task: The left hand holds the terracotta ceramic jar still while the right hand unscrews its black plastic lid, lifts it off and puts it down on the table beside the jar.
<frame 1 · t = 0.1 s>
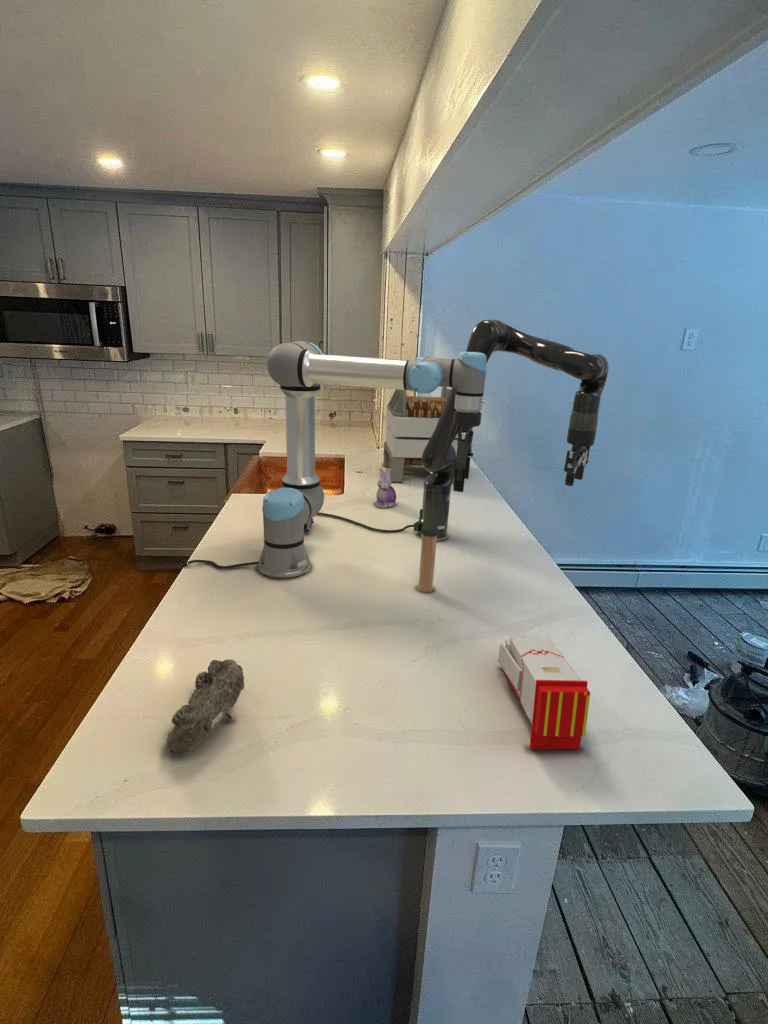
left hand: (461, 484, 163), 28 cm above the counter, tool pointing down, fingers open, 13 cm apart
right hand: (573, 482, 165), 29 cm above the counter, tool pointing down, fingers open, 8 cm apart
lid: (429, 529, 155), point 18 cm above the counter, screwed on, not yet turned
figurine character: (304, 527, 201), on the counter
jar: (425, 589, 161), on the counter
fossil: (212, 717, 108), on the counter
figurine: (385, 504, 229), on the counter
toy: (533, 701, 117), on the counter
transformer: (419, 473, 275), on the counter
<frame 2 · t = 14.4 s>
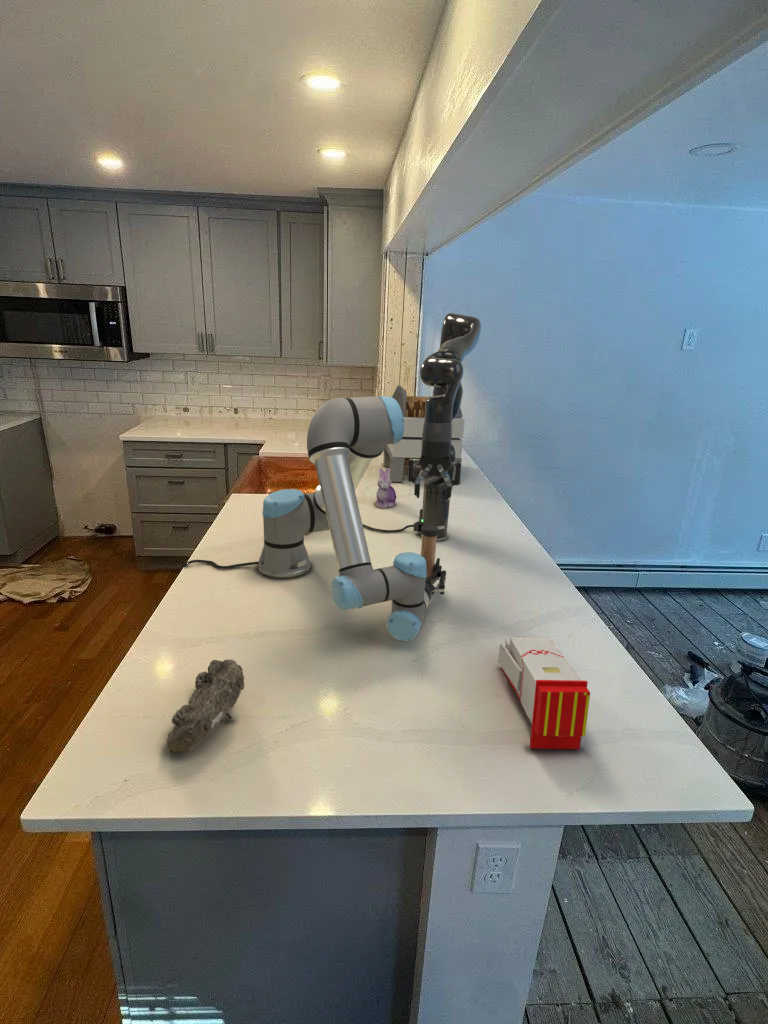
left hand: (430, 561, 164), 6 cm above the counter, tool horizontal, fingers closed on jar, 4 cm apart
right hand: (432, 498, 152), 27 cm above the counter, tool pointing down, fingers open, 7 cm apart
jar: (425, 589, 161), on the counter, touching left hand
everything else where it was.
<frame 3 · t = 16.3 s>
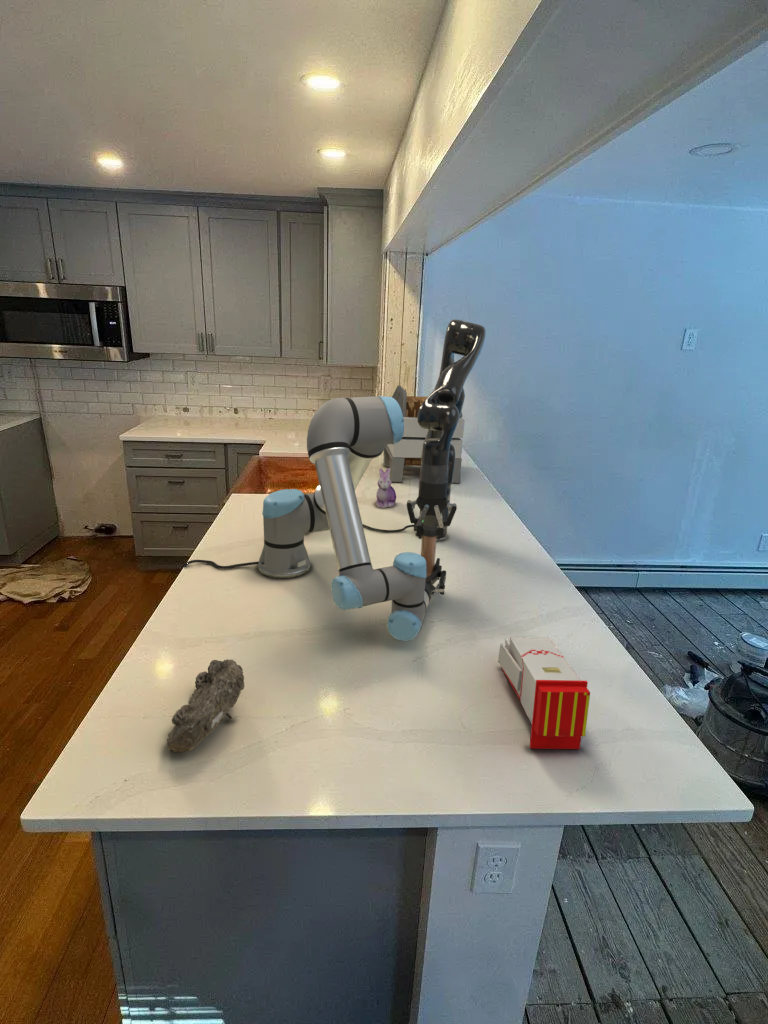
left hand: (430, 561, 164), 6 cm above the counter, tool horizontal, fingers closed on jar, 4 cm apart
right hand: (429, 537, 156), 16 cm above the counter, tool pointing down, fingers closed on lid, 4 cm apart
lid: (429, 529, 155), point 18 cm above the counter, screwed on, not yet turned, touching right hand
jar: (425, 589, 161), on the counter, touching left hand
everything else where it was.
when the right hand's fingers open (16 cm above the counter, at t = 18.1 s): lid stays where it is, point 19 cm above the counter.
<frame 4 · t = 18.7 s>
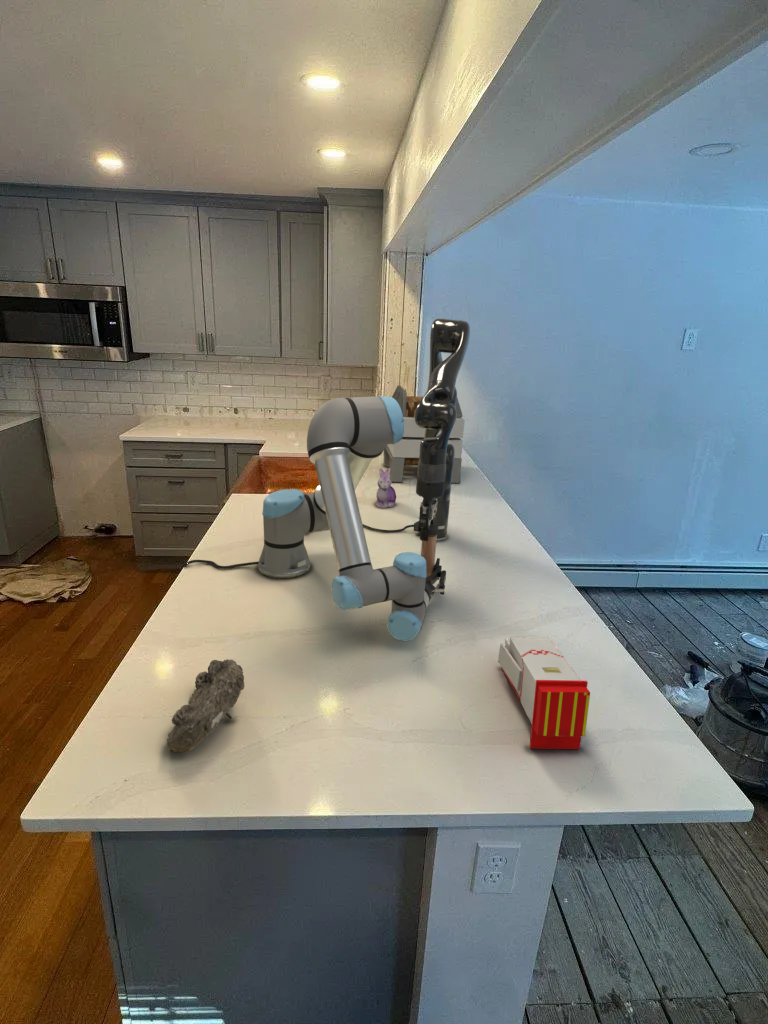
left hand: (429, 561, 164), 6 cm above the counter, tool horizontal, fingers closed on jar, 4 cm apart
right hand: (426, 535, 156), 17 cm above the counter, tool pointing down, fingers open, 7 cm apart
lid: (429, 528, 155), point 19 cm above the counter, turned 107° so far, risen 0.3 cm, still on its thread
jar: (425, 589, 161), on the counter, touching left hand
everything else where it was.
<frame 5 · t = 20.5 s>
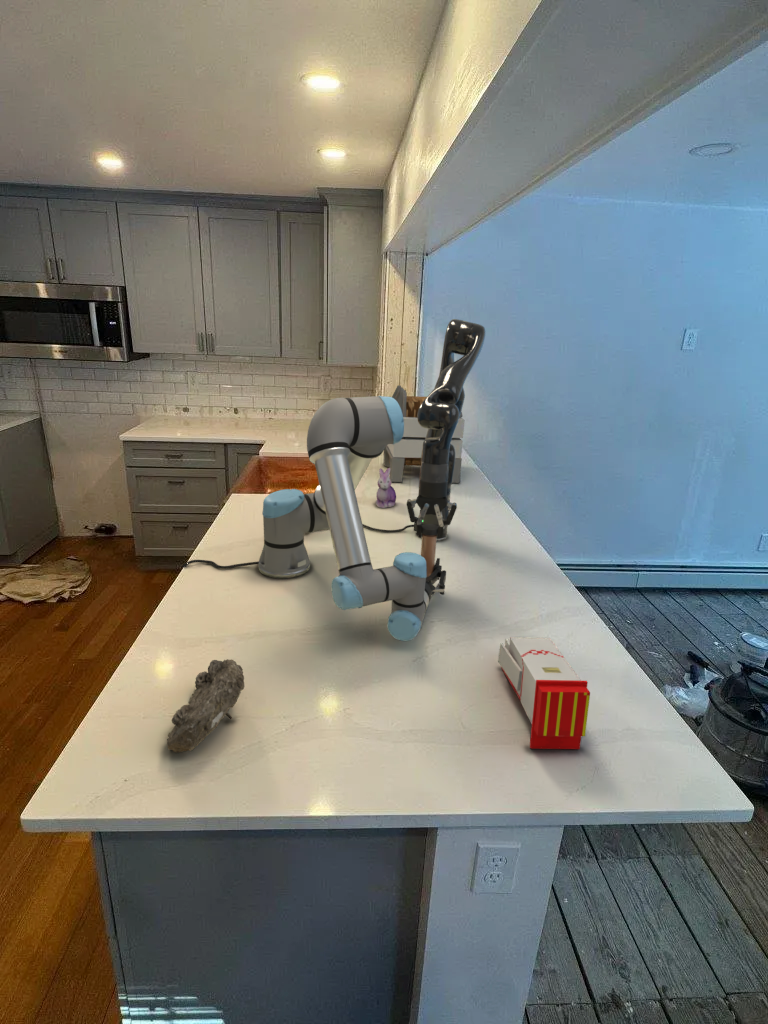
left hand: (429, 561, 164), 6 cm above the counter, tool horizontal, fingers closed on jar, 4 cm apart
right hand: (429, 537, 156), 16 cm above the counter, tool pointing down, fingers closed on lid, 4 cm apart
lid: (429, 528, 155), point 19 cm above the counter, turned 107° so far, risen 0.3 cm, still on its thread, touching right hand
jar: (425, 589, 161), on the counter, touching left hand
everything else where it was.
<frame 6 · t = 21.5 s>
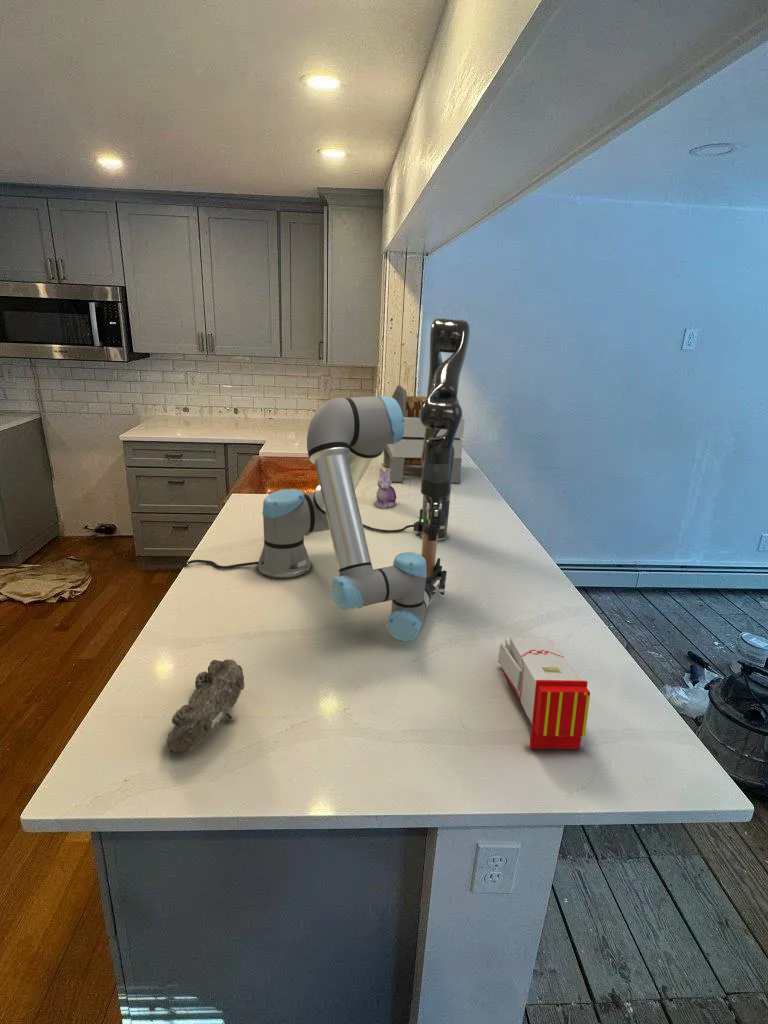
left hand: (430, 561, 164), 6 cm above the counter, tool horizontal, fingers closed on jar, 4 cm apart
right hand: (431, 536, 156), 16 cm above the counter, tool pointing down, fingers closed on lid, 4 cm apart
lid: (431, 527, 155), point 19 cm above the counter, off its thread, touching right hand, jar
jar: (425, 588, 161), on the counter, touching left hand, lid
everything else where it was.
when the right hand's fingers open (0 cm above the counter, at t = 28.2 s): lid drops 2 cm, point 1 cm above the counter.
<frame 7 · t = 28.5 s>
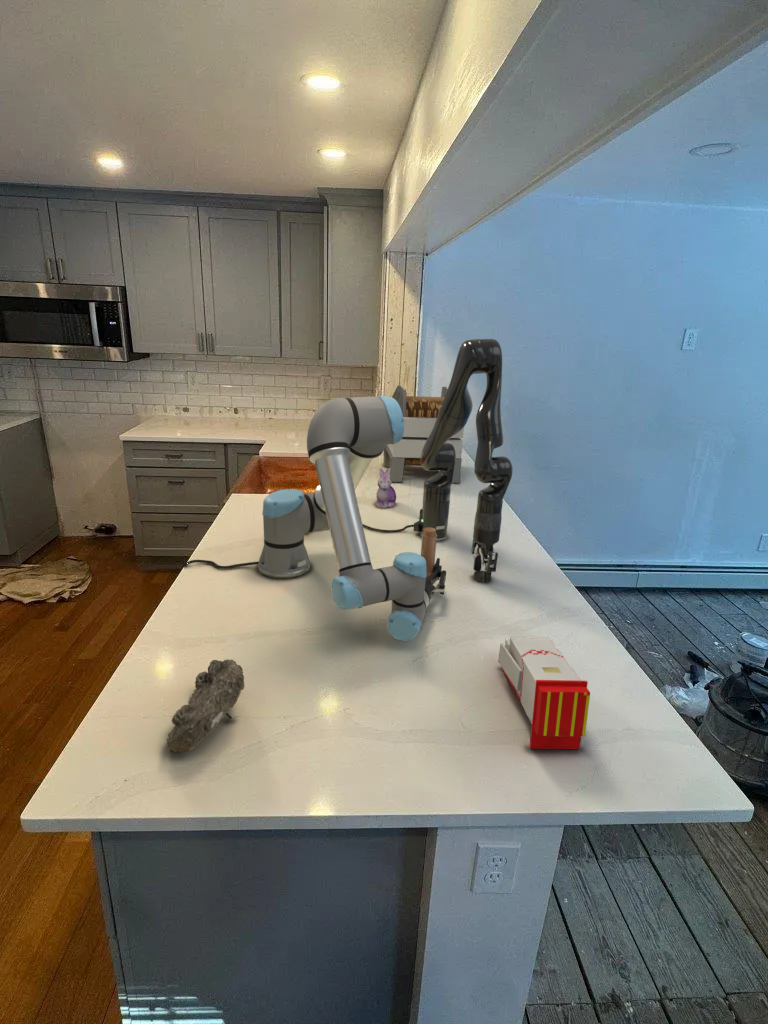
left hand: (429, 561, 164), 6 cm above the counter, tool horizontal, fingers closed on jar, 4 cm apart
right hand: (481, 576, 169), 1 cm above the counter, tool pointing down, fingers open, 7 cm apart
lid: (481, 574, 169), point 1 cm above the counter, off its thread
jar: (425, 589, 161), on the counter, touching left hand
everything else where it was.
when the left hand's fingers open (6 cm above the counter, at t = 29.1 s): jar stays where it is, on the counter.
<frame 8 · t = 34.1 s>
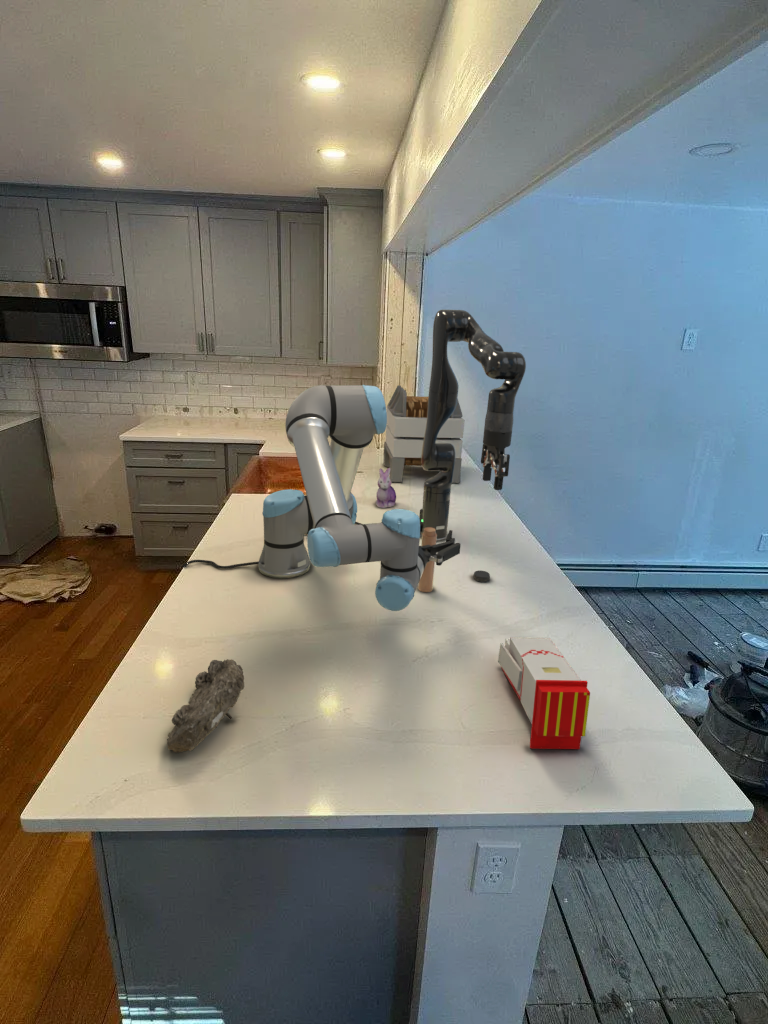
left hand: (424, 531, 145), 21 cm above the counter, tool horizontal, fingers open, 13 cm apart
right hand: (491, 485, 159), 29 cm above the counter, tool pointing down, fingers open, 8 cm apart
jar: (425, 589, 161), on the counter
everything else where it was.
at the end: lid came off its thread; lid point 1.3 cm above the counter; the left hand is holding nothing; the right hand is holding nothing; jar tilted 0°; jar moved 0.0 cm from its start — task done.
